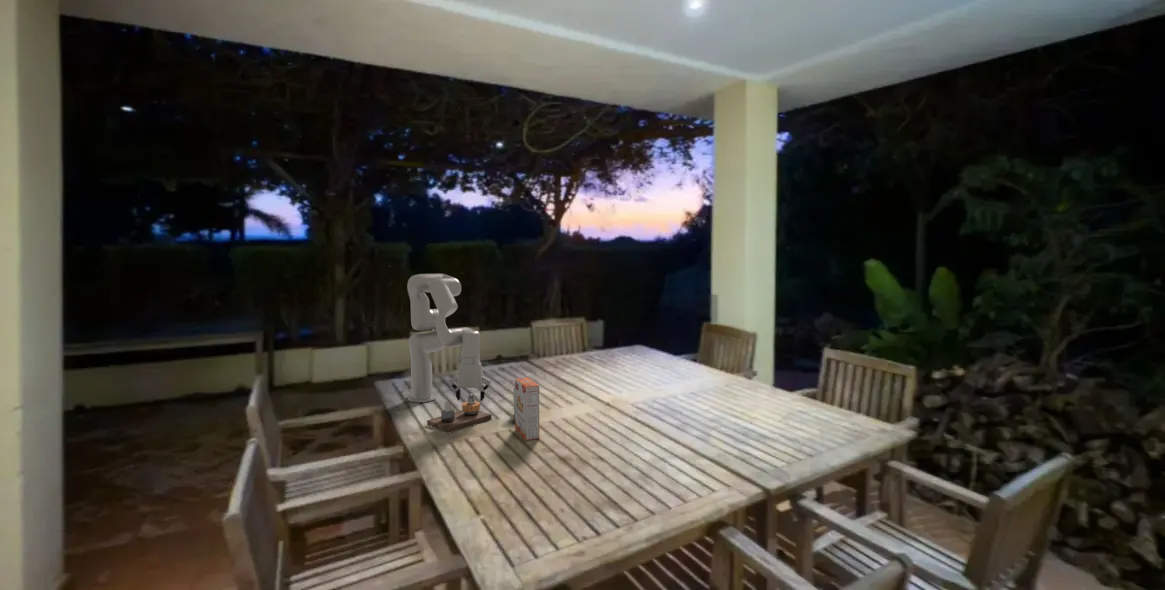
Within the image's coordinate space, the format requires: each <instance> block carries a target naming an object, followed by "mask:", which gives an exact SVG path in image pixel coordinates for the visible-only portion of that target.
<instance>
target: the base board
mask: <svg viewBox="0 0 1165 590" xmlns="http://www.w3.org/2000/svg"><path fill="white" fill-rule="evenodd" d="M454 420H455V421H454V422H451V423H443V422H441V415H440V416H437V417H434V418H430V419H427V420H426V425H427V426H428V425H429V427H431V426H432V427H431V428H434V427H435V428H434V429H437V430H439V429H440V431H442V430H443V431H442V432H445V433H447V432H448V434H449V432H450V433H452V431H453V432H455V430H456V431H459V430H462V429H465V428H467V427H471V426H474V424H475V425H477V424H480V423H481V424H482V423H484V422H486V421H490V420H492V413H488V412H485V411H480V410H479V414H478V415H475V416H465V415H464V411H463V410H462V409H461V410H458V411H454ZM458 429H459V430H458Z"/></svg>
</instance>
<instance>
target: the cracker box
mask: <svg viewBox="0 0 1165 590" xmlns="http://www.w3.org/2000/svg"><path fill="white" fill-rule="evenodd" d="M514 387H515V416H514V417H515V419H514V420H515V430H516V431H517V432H518V433H519V434H520V436H522V438H523V439H524V441H531V440H538V439H540V385H539V384H537V383H536V382H535V381H534V380H532V379H531V378H530V377H518V378H517V377H516V378H514Z"/></svg>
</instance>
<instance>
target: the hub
mask: <svg viewBox="0 0 1165 590" xmlns="http://www.w3.org/2000/svg"><path fill="white" fill-rule="evenodd" d="M474 401H475V397H474V393H469V394H468V397H467V402H468V405H474ZM479 411H480V410H478V411H474V412H466V411H464V415H465V416H475V415H478V414H479Z"/></svg>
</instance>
